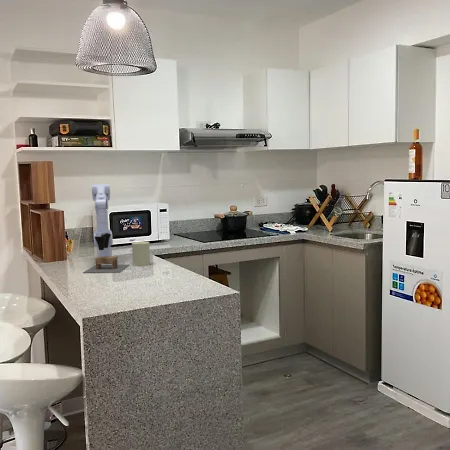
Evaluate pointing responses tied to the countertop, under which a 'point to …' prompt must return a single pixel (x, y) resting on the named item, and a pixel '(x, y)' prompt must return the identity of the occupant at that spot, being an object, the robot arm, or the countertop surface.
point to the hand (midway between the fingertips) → (103, 249)
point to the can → (141, 253)
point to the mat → (106, 269)
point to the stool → (106, 261)
